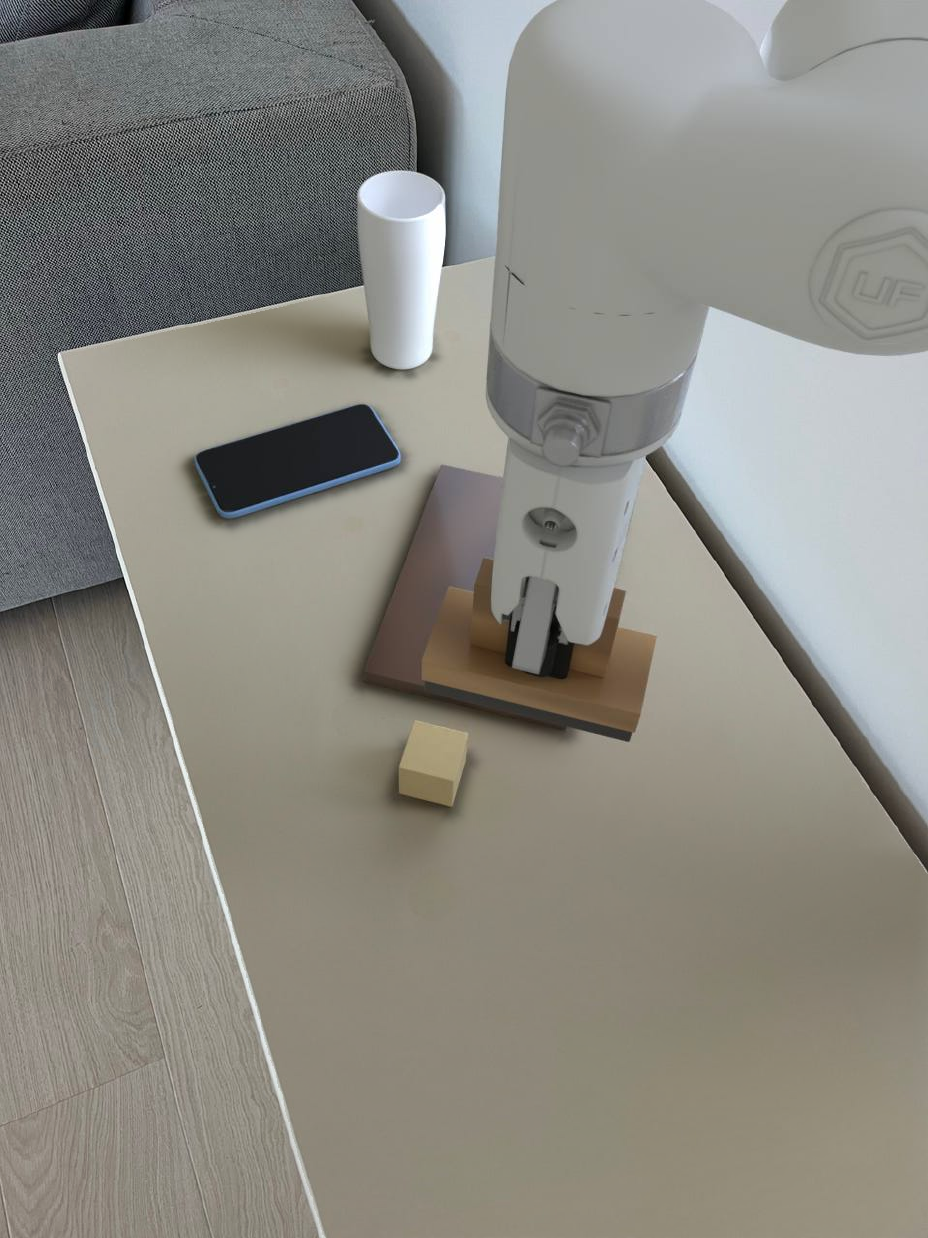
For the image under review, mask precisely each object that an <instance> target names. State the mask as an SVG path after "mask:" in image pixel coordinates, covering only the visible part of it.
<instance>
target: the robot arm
mask: <svg viewBox="0 0 928 1238" xmlns="http://www.w3.org/2000/svg"><path fill="white" fill-rule="evenodd" d="M505 87H506V88H505V96H504V98H505V99H504V113H503V126H502V127H503V128H502V141H501V142H502V143H501V157H500V173H499V186H498V187H499V189H498V201H497V202H498V203H497V217H496V232H495V255H494V267H493V280H492V296H491V308H490V321H489V335H488V350H487V351H488V352H487V363H486V364H487V365H486V379H485V380H486V385H485V400H486V404H487V408H488V411H489V414H490V415H491V418H492V419H493V421H494V422H495V424H496V425H497V427H498V428H499V429H500V430H501V431H502V433H504V435H505V436H507V444H506V452H505V458H504V459H505V461H504V467H503V475H502V481H501V484H502V491H501V499H500V507H499V515H498V524H497V533H496V542H495V553H494V564H493V575H492V589H491V609H492V613H493V615H494V617H495V618H496V620H497V621H498V622H499V623H500V624H501V625H502V623H503V621H504V620H505V621H509V620H510V621H509V629H508V638H507V646H506V655H505V663H506V665H508V666H509V667H512V668H515V669H519V670H521V671H522V672H524V673H526V674H529V675H533V676H537V677H547V676H549V677H553V678H557V679H565V678H567V676H568V672H569V668H570V663H571V658H572V653H573V648H574V643H577V644H583V645H590V644H592V643H593V642H595V641H596V640H597V639H598V638H599V637H600V636H601V633H602V630H603V627H604V623H605V619H606V616H607V612H608V608H609V604H610V600H611V596H612V593H613V589H614V588H615V584H616V580H617V577H618V573H619V569H620V565H621V561H622V557H623V553H624V549H625V546H626V541H627V537H628V533H629V530H630V526H631V522H632V517H633V513H634V509H635V507H636V506H635V505H636V502H637V497H638V493H639V489H640V485H641V481H642V476H643V471H644V469H645V468H644V467H645V463H646V458H647V456H649V455H650V454H652V453H654V452H656V451H657V450H658V449H660V448H661V447H662V446H663V445H665V444H666V442H667V441H668V440H669V439H670V438H671V437H672V435H673V434H674V433H675V431H676V430H677V427H678V426H679V423H680V420H681V417H682V413H683V411H684V410H683V409H684V406H685V402H686V399H687V394H688V391H689V387H690V383H691V380H692V376H693V372H694V369H695V364H696V361H697V357H698V353H699V350H700V346H701V341H702V338H703V334H704V331H705V326H706V323H707V319H708V316H709V312H710V308H713V309H715V310H719V311H722V312H723V313H727V314H730V315H732V316H735V317H738V318H740V319H743V320H746V321H748V322H750V323H754V324H755V325H759V326H761V327H764V328H766V329H769V330H771V331H774V332H777V333H780V334H782V335H785V336H788V337H790V338H792V339H795V340H800V341H803V342H805V343H808V344H812V345H815V346H817V347H822V348H825V349H829V350H833V351H838V352H843V353H848V354H851V355H852V354H853V355H860V356H874V357H875V356H876V357H898V356H901V357H902V356H907V355H914V354H919V353H925V352H928V0H787V1H785V2H784V4H783V5H782V7H781V8H780V10H779V11H778V13H777V15H776V16H775V17H774V19H773V21H772V22H771V24H770V25H769V27H768V29H767V31H766V34H765V36H764V38H763V40H762V42H761V45H760V48H758V46H757V44H756V41H755V40H754V38H753V37H752V36H751V34H750V33H749V31H748V30H747V29H746V28H745V27H744V26H743V25H742V24H741V23H740V22H739V21H738V20H737V19H736V18H735V17H734V16H733V15H732V14H730V13H729V12H727V11H725V10H724V9H722V8H721V7H719V6H717V5H715V4H713V3H711V2H709V1H707V0H555V1H553V2H551V3H550V4H548V5H547V6H544V7H543V8H542V9H540V11H538V12H537V13H536V14H535V15H534V16H533V17H532V18H531V19H530V20H529V22H528V23H527V24H526V26H525V27H524V28H523V30H522V31H521V32H520V34H519V36H518V38H517V41H516V42H515V45H514V48H513V51H512V55H511V57H510V60H509V64H508V72H507V79H506V86H505ZM553 612H556V613H553Z"/></svg>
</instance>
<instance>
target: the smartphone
mask: <svg viewBox="0 0 928 1238" xmlns="http://www.w3.org/2000/svg"><path fill="white" fill-rule="evenodd" d="M401 459H402V456H401V452H400V449H399V447H398V446H397V445H396V443H395V441H394V440H393V437H392V436H391V434H390V433H389V432H388V430H387V429H386V427H385V425H384V424H383V422H382V421H381V419H380V418H379V416H378V415H377V412H376V411H375V409H373V407H372V406H370V405H368V404H367V403H366V404H365V403H358V404H353V405H350V406H347V407H343V408H341V409H337V410H333V411H330V412H327V413H323V414H319V415H316V416H313V417H310V418H306V419H304V420H300V421H297V422H293V423H290V424H287V425H283V426H279V427H276V428H274V429H270V430H266V431H263V432H260V433H257V434H253V435H249V436H247V437H244V438H240V439H236V440H233V441H229V442H227V443H223V444H219V445H216V446H213V447H209V448H206V449H203V450H201V451H199V452H198V453H197V454H196V455H195V457H194V465H195V468H196V471H197V472H198V474H199V477H200V478H201V481H202V483H203V485H204V487H205V489H206V492H208V495H209V498H210V499H211V502H212V504H213V506H214V508H215V510H216V512H217V514H218V515H220V517H222V518H224V519H235V518H239V517H243V516H245V515H248V514H251V513H255V512H258V511H261V510H264V509H267V508H270V507H273V506H277V505H280V504H283V503H286V502H290V501H292V500H296V499H298V498H302V497H305V496H308V495H311V494H315V493H317V492H320V491H324V490H326V489H329V488H332V487H336V486H339V485H342V484H345V483H348V482H351V481H355V480H358V479H361V478H364V477H367V476H370V475H373V474H377V473H380V472H383V471H386V470H389V469H391V468H394V467H396V466H398V465H399V464H400V463H401Z"/></svg>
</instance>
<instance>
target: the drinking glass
mask: <svg viewBox="0 0 928 1238" xmlns="http://www.w3.org/2000/svg"><path fill="white" fill-rule="evenodd" d="M356 229H357V231H356V232H357V245H358V252H359V260H360V261H359V262H360V266H361V269H360V270H361V274H362V275H361V276H362V282H363V290H364V296H365V303H366V311H367V318H368V320H367V321H368V327H369V344H370V350H371V353H372V356H373V357H374V358H375V360H377V362H378V363H380V364H381V365H383V366H384V367H387V368H390V369H394V370H410V369H414V368H417V367H419V366H420V367H421V365H423V364H425V363H426V362H427V361H428V359H430V358H431V355H432V353H433V349H434V332H435V331H434V330H435V322H436V315H437V306H438V298H439V292H440V283H441V275H442V269H443V261H444V253H445V244H446V243H445V242H446V194H445V190H444V188H443V187H442V185H440V183H439V182H438V181H436V180H435V179H434V178H432V177H430V176H428V175H426V174H424V173H421V172H416V171H411V170H402V169H401V170H399V169H398V170H388V171H382V172H379V173H376V174H374V175H372V176H370V177H368V178H366V179H365V181H363V183H361V185H360V186H359V188H358V189H357V194H356Z"/></svg>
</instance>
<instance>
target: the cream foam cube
mask: <svg viewBox="0 0 928 1238" xmlns="http://www.w3.org/2000/svg"><path fill="white" fill-rule="evenodd" d="M468 741H469V733H468V732H466V731H465V732H464V731H461V730H457V729H453V728H449V727H445V726H441V725H436V724H433V723H429V722H424V721H420V720H415V719H414V720H413V723H412V726H411V729H410V732H409V735H408V738H407V741H406V744H405V746H404V749H403V753H402V756H401V759H400V762H399V765H398V794H400V795H404V796H407V797H411V798H414V799H415V798H416V799H419V800H422V801H423V800H424V801H426V802H431V803H435V804H437V805H438V804H439V805H443V806H446V807H450V808H452V807H454V803H455V799H456V796H457V793H458V788H459V786H460V782H461V779H462V775H463V771H464V768H465V765H466V763H467V762H466V761H467V753H468Z"/></svg>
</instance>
